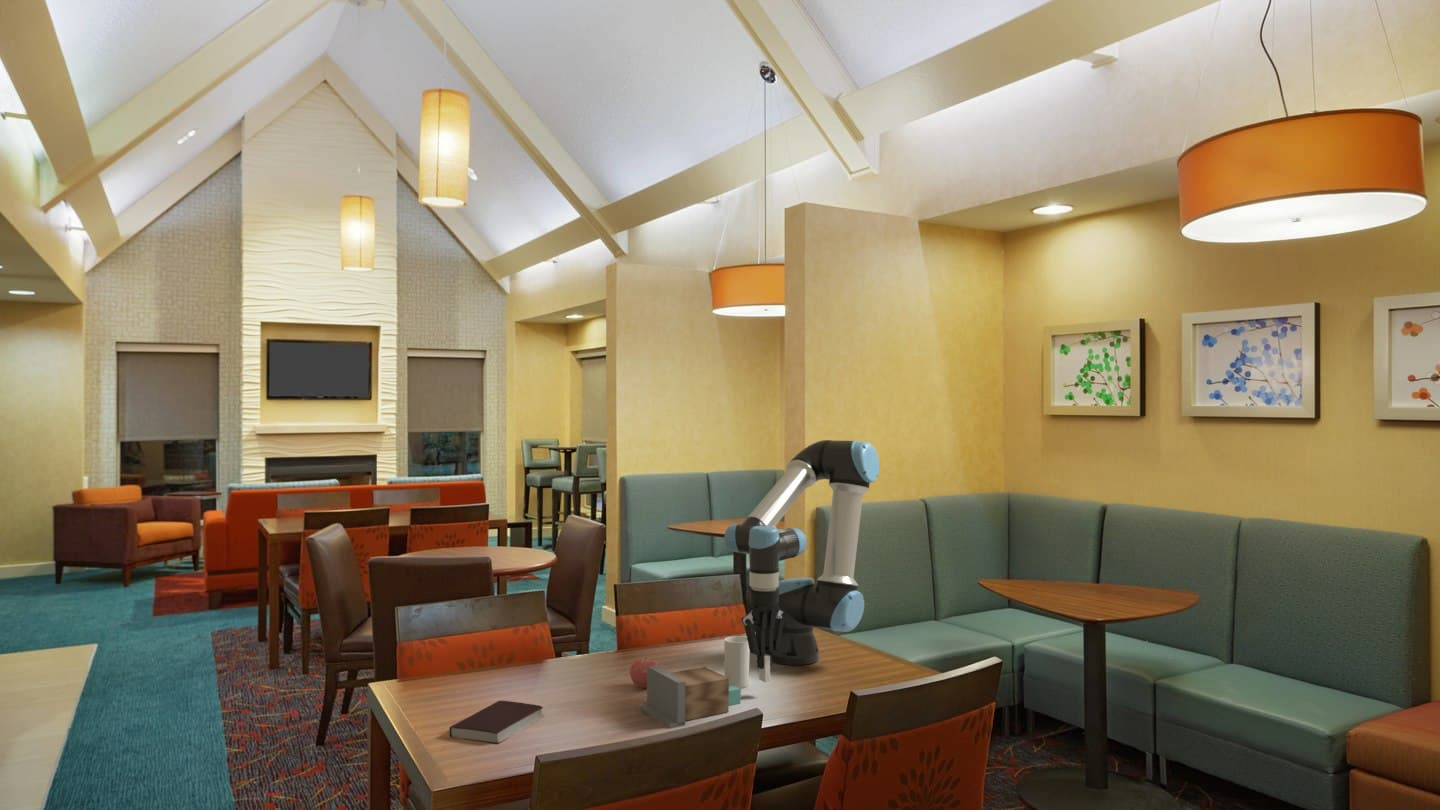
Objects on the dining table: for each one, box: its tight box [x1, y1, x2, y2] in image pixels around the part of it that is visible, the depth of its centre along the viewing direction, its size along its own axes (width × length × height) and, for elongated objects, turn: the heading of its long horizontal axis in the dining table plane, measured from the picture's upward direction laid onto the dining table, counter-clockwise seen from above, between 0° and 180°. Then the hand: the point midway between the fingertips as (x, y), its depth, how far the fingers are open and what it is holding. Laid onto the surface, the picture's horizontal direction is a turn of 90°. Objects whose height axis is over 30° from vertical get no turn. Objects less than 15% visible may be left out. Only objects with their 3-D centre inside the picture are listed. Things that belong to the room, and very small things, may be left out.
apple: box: [629, 657, 659, 689], centre depth 234 cm, size 7×7×8 cm
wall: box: [639, 665, 686, 729], centre depth 212 cm, size 4×15×10 cm, turn 33°
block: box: [669, 666, 730, 722], centre depth 217 cm, size 12×11×8 cm
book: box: [449, 700, 544, 745], centre depth 205 cm, size 12×19×3 cm, turn 160°
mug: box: [723, 635, 751, 689], centre depth 238 cm, size 10×7×12 cm, turn 24°
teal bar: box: [729, 685, 742, 707], centre depth 220 cm, size 14×4×4 cm, turn 122°
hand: (764, 680), depth 228 cm, fingers closed
